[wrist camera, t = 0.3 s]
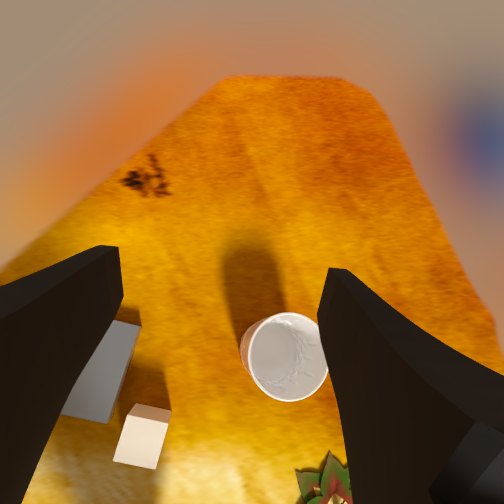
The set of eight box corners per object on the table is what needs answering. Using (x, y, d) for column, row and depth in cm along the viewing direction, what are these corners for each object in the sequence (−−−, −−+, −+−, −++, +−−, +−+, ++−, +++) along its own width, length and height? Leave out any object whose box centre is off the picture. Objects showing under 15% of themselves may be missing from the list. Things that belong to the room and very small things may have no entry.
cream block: (160, 449, 35) (155, 469, 30) (123, 442, 34) (112, 461, 29) (171, 410, 36) (168, 423, 31) (136, 402, 35) (127, 414, 30)
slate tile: (111, 418, 34) (106, 423, 32) (15, 397, 33) (4, 402, 31) (141, 326, 37) (139, 326, 35) (53, 304, 36) (46, 303, 34)
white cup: (220, 345, 38) (230, 351, 29) (269, 302, 40) (292, 295, 31) (263, 397, 38) (286, 421, 28) (309, 351, 40) (346, 359, 30)
